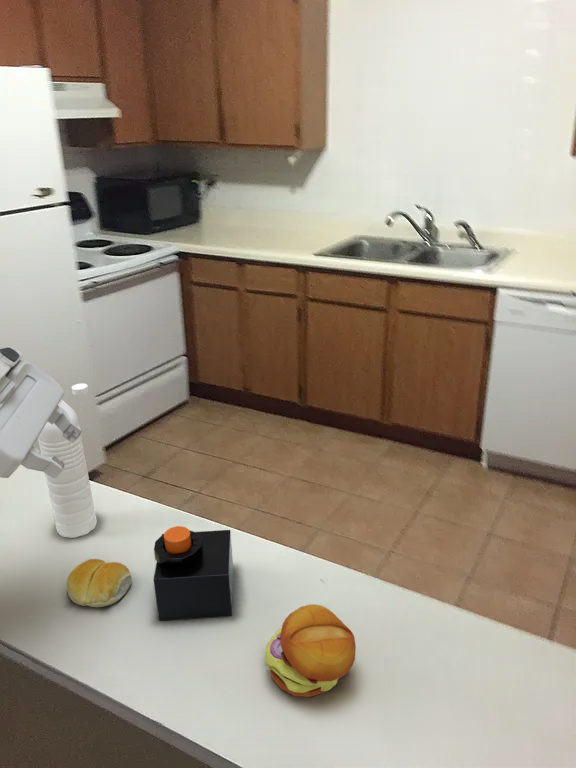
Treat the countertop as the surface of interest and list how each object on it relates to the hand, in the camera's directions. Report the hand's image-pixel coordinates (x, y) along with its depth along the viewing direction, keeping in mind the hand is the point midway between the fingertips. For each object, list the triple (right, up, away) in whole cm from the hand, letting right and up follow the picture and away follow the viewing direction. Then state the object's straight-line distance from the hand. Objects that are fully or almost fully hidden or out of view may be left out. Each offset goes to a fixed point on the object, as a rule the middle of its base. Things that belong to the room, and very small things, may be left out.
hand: (69, 453), depth 86 cm
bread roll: (+1, -21, +12) cm, 25 cm away
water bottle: (-6, -15, +27) cm, 31 cm away
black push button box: (+15, -21, +11) cm, 28 cm away
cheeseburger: (+31, -27, -3) cm, 41 cm away
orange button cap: (+13, -14, +7) cm, 20 cm away
